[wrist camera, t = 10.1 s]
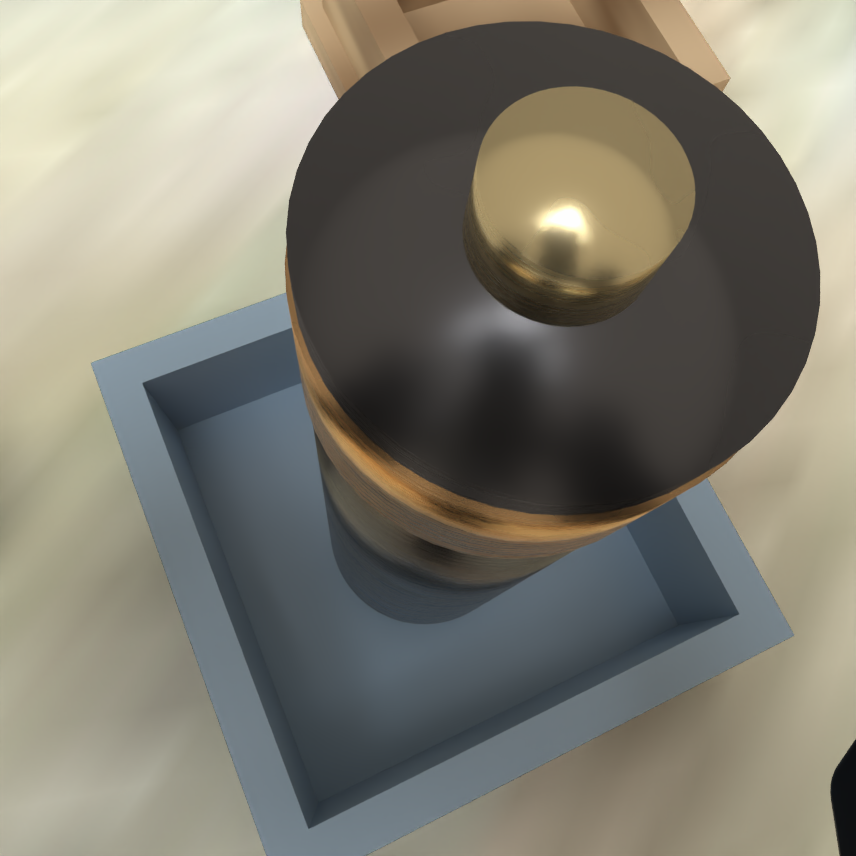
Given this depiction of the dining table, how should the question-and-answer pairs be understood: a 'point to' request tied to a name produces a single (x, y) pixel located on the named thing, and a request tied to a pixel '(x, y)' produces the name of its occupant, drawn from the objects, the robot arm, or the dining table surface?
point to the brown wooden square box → (484, 4)
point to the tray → (385, 637)
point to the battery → (533, 303)
